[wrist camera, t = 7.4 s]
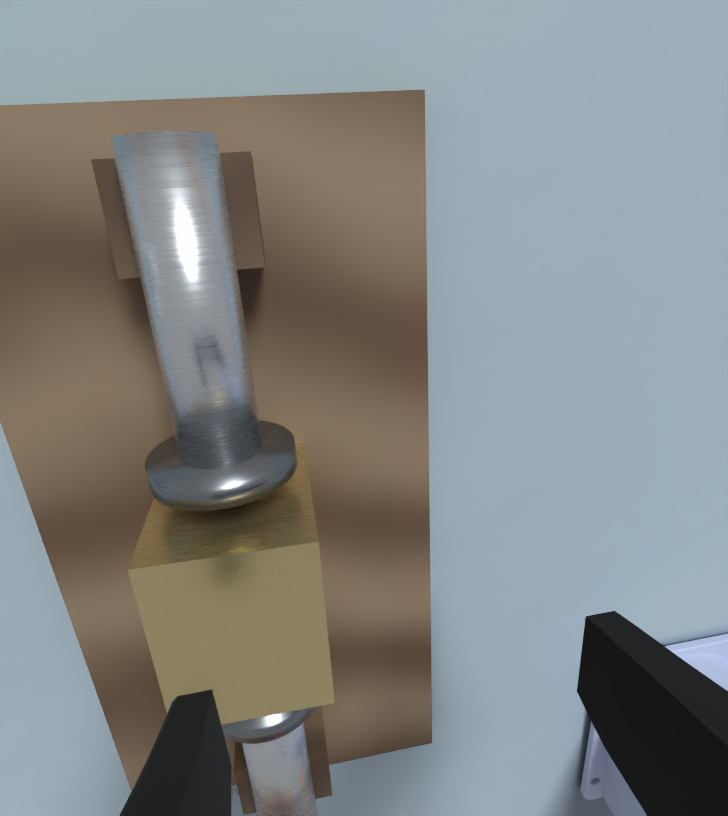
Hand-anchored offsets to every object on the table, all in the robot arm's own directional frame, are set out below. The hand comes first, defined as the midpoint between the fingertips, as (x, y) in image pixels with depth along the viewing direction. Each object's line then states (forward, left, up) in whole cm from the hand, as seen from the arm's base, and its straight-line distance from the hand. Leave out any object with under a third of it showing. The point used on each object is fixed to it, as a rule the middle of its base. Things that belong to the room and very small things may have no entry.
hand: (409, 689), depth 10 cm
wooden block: (-1, +3, -8) cm, 8 cm away
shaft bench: (-1, +3, -9) cm, 9 cm away
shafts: (-1, +3, -7) cm, 8 cm away
